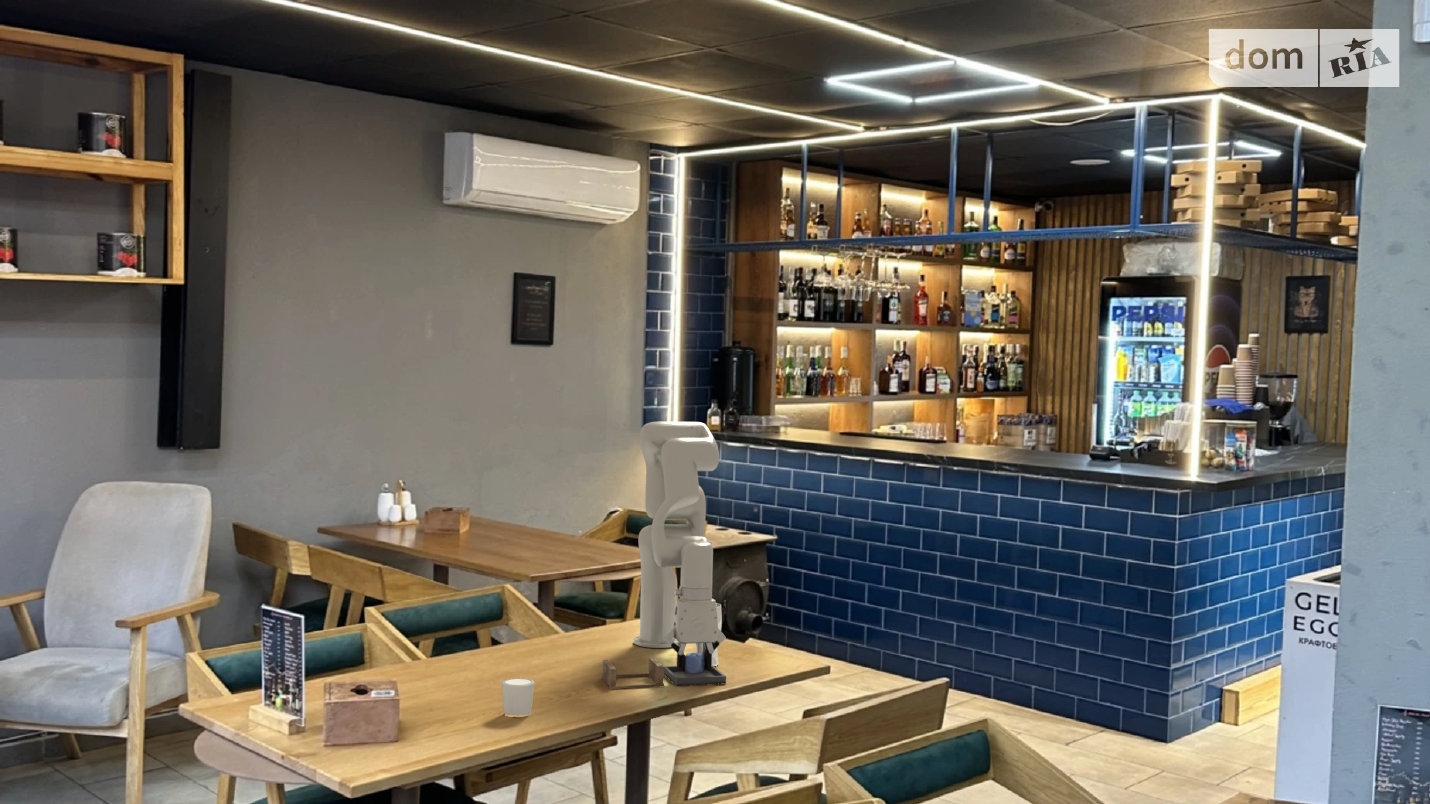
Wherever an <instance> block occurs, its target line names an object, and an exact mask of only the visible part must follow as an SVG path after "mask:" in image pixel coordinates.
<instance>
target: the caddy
mask: <svg viewBox="0 0 1430 804" xmlns="http://www.w3.org/2000/svg"><path fill="white" fill-rule="evenodd" d="M664 667H665V666H663V664H661V663H660V662H659V661H658V660H657V659H656V658H654V657H649V658H648V672H641V673H623V674H622V673H621V674H618V673H617V668H616V667H615V666H614V665H613V664H612V663H611V662H610V661H609V660H608V659H604V660H602V675H601V679H602V678H603V679H602V680H603V681H604V683H605V684H606V683H607V684H606V685H607V686H608V685H609V686H608V687H609V688H610V689H611V690H622V689H621V688H629V689H644V688H645V689H646V688H660V686H664V687H665V683H664V674H663V672H664ZM641 677H645V678H646V677H649V679H650V680H652V681H653V682H654V683H641V684H640V683H639V684H623V685H620V684H619V685H617V679H623V678H624V679H625V678H641Z"/></svg>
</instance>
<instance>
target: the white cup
mask: <svg viewBox="0 0 1430 804" xmlns="http://www.w3.org/2000/svg"><path fill="white" fill-rule="evenodd" d="M534 688H535V681H534V680H533V679H531V678H524V677H522V678H521V677H515V678H513V677H512V678H508V679H505V680H503V681H501V691H502V703H503V704H502V705H503V714H504V713H505V714H507V715H517V716H519V715H529V714H531V715H532V708H533V701H534V700H533V698H534V691H535V689H534Z"/></svg>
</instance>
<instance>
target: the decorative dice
mask: <svg viewBox="0 0 1430 804" xmlns="http://www.w3.org/2000/svg"><path fill="white" fill-rule="evenodd" d="M704 665H705V658H704V656H703V655H702V654H700V653H696V652H689V653H686V654H685V671H686V672H688V673H694V674H696V673H701V672H703V670H704Z"/></svg>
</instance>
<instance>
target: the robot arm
mask: <svg viewBox="0 0 1430 804" xmlns="http://www.w3.org/2000/svg"><path fill="white" fill-rule="evenodd" d="M639 441H640V443H639V445H640V448H641V452H642V455H643V459H644V462H645V472H646V473H645V501H644V502H645V507H644V508H645V512H646V515H647V516H648V518H650V519H652V524H649V525H647V526H644V527H643V528H641V530H640V531H639V534H638V541H637V542H638V548H639V549H638V550H639V558H640V560H639V561H640V573H641V574H640V609H639V610H640V611H639V614H640V615H639V635H637V636H635V637H634V638H633V644H635V645H636V646H639V647H641V648H642V647H644V648H648V649H649V648H650V649H668V648H672V650H674V651H675V652H676V666H677V667H678V668H679V670H681V671H682V672H684V671H685V656H686V654H685V650H686V647H687V645H688V644H696V643H704V645H705V648H706V649H705V651H704V653H703V656H704V658H705V665H704V668H705V669H706V670H710V666H711V665H712V653H713V652H714V650H715V649H716V648H717V647H718V648H719V646H720V644H721V643H723V642H724V641H725V640H726V636H725V634H724V633H723V632H722V630H721V631H720V629H719V628H718V618H717V608H716V603H717V602H716V599H714V598H712V597H713V568H714V567H713V563H714V560H713V559H714V548H713V545H712V542H710V541H709V539H708V538H707V537H705V535H706V510H707V509H706V508H707V507H706V496H705V492H704V490H703V488H702V487H701V486H700V483H699V474H698V472H713V471H714V470H716V469H717V467H718V466H719V461H720V452H719V447H718V443H717V441H716V439H715V437H714V435H713V433H712V432H711V431H710V429H709V427H708V426H707V424H706V423H703V422H700V421H674V420H672V421H670V420H669V421H667V420H666V421H664V420H662V421H651V422H647V423H645V424H644V425H643V426H642V427H641V430H640V435H639ZM668 520H669V521H671V520H673V521H677V520H680V521H681V520H684V521H686V523H685V524H683V523H680V524H676V523H675V524H672V523H670V524H669V523H665V522H666V521H668ZM673 568H674V569H675V568H680V585H679V588H677V587H678V581H677V580H678V578H677V574H676V573H675V571H674V570H673ZM677 597H679V598H677ZM711 642H712V643H711Z"/></svg>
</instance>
